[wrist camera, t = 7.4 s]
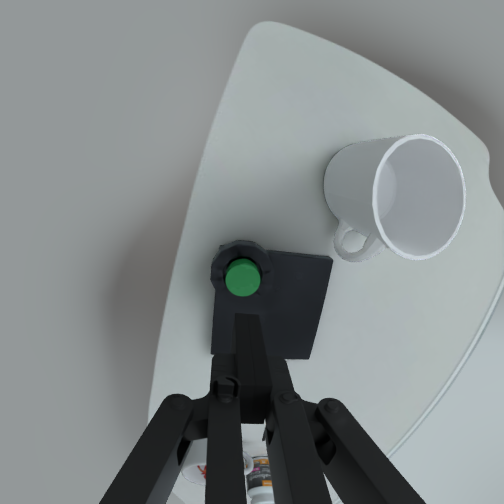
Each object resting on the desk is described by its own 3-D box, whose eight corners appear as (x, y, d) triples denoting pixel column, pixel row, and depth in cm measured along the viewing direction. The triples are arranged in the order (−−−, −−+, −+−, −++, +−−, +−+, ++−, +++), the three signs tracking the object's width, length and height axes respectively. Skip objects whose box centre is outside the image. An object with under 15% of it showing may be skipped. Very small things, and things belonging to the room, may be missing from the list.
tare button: (224, 287, 28) (224, 294, 27) (227, 256, 27) (227, 262, 26) (256, 290, 29) (257, 297, 27) (260, 260, 28) (262, 266, 26)
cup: (258, 430, 38) (263, 470, 31) (244, 454, 40) (247, 490, 33) (189, 418, 37) (184, 459, 29) (182, 444, 39) (178, 481, 31)
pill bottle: (273, 453, 41) (279, 498, 31) (279, 466, 42) (285, 507, 33) (241, 458, 41) (244, 503, 31) (249, 471, 42) (253, 512, 33)
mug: (407, 166, 28) (477, 172, 17) (369, 260, 31) (426, 303, 20) (339, 128, 27) (396, 109, 16) (298, 231, 30) (335, 268, 19)
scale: (206, 347, 33) (204, 362, 30) (215, 234, 29) (213, 241, 27) (306, 353, 34) (312, 368, 31) (331, 247, 31) (341, 255, 28)
